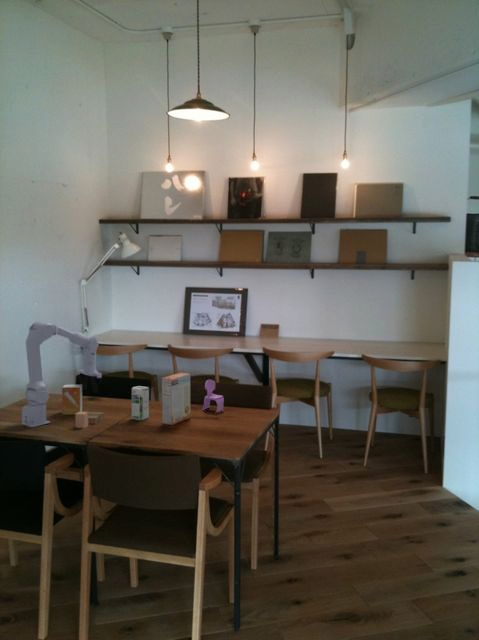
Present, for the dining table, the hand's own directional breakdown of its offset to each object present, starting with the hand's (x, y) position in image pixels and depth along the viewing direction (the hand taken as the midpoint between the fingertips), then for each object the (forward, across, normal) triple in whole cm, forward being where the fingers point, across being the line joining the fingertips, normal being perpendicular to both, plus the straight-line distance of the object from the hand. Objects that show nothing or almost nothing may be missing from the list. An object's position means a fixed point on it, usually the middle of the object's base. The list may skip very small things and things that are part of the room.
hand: (89, 390), depth 265 cm
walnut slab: (+10, -12, +9) cm, 18 cm away
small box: (+10, +4, +7) cm, 13 cm away
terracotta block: (+10, -16, +18) cm, 26 cm away
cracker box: (+10, -42, -15) cm, 45 cm away
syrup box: (+10, -26, -7) cm, 29 cm away
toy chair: (+10, -43, -39) cm, 59 cm away
